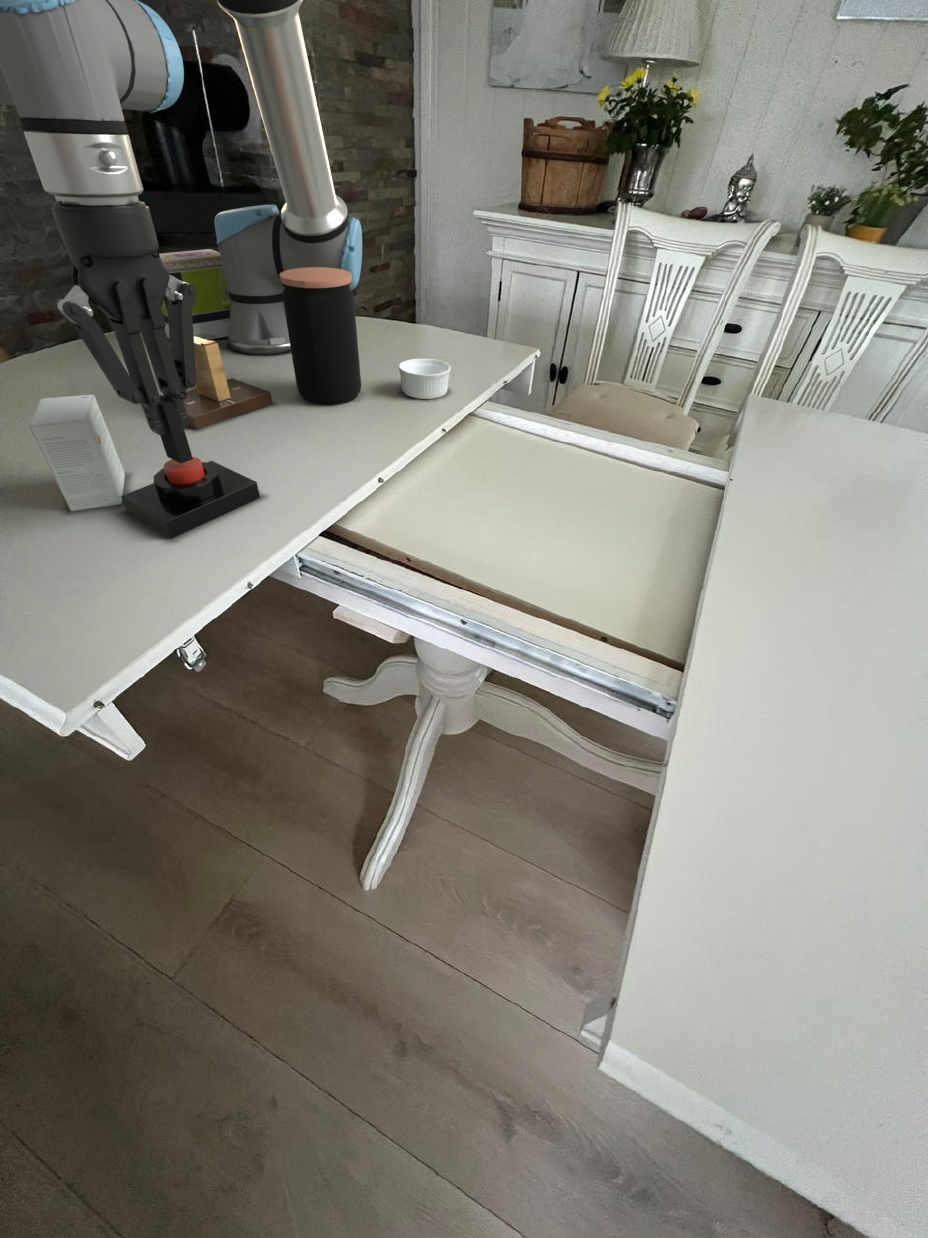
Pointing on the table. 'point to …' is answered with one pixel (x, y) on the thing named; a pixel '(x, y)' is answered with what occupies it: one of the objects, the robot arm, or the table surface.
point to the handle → (210, 370)
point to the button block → (190, 499)
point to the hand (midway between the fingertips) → (180, 457)
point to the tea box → (202, 291)
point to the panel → (224, 404)
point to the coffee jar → (322, 334)
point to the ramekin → (424, 378)
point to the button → (184, 471)
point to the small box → (79, 451)
